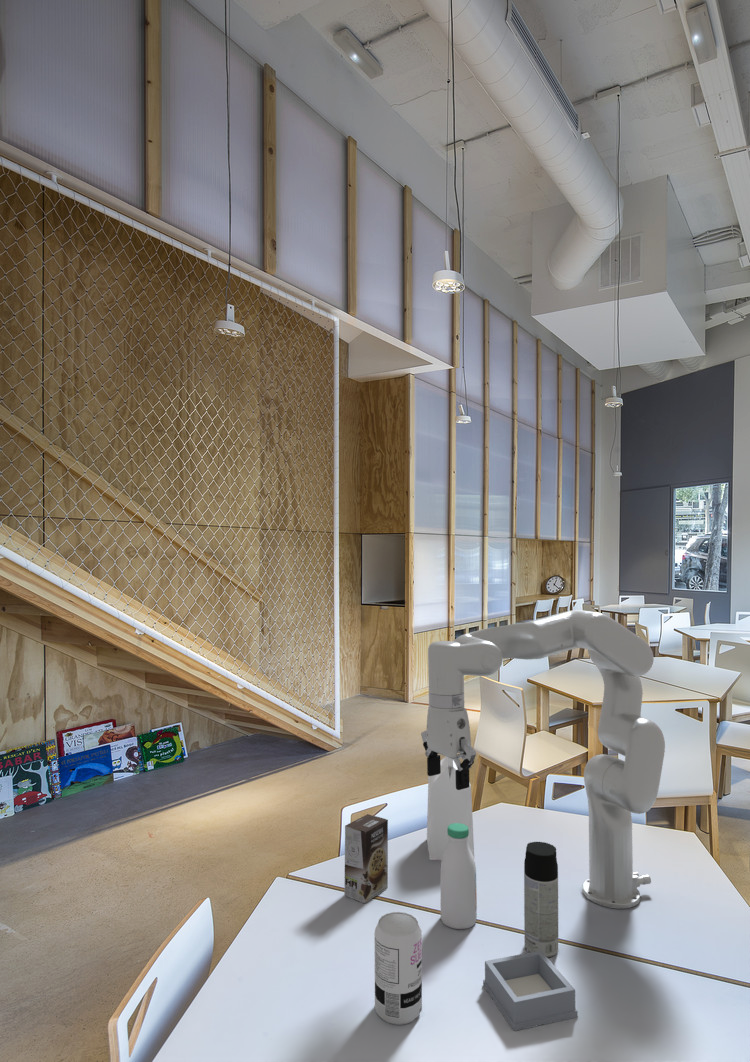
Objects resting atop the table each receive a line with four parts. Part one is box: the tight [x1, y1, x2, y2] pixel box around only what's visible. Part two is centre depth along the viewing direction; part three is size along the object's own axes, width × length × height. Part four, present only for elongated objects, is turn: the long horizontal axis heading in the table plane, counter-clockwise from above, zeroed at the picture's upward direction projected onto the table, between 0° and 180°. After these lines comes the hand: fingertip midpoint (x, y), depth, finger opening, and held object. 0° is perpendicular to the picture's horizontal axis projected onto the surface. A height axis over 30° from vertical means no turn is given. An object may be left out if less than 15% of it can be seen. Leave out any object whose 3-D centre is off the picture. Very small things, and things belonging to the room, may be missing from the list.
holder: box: [482, 951, 579, 1032], centre depth 118 cm, size 12×12×4 cm
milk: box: [426, 756, 475, 861], centre depth 177 cm, size 12×12×26 cm
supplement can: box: [374, 911, 423, 1026], centre depth 115 cm, size 8×8×15 cm
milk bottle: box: [440, 823, 478, 930], centre depth 143 cm, size 8×8×20 cm
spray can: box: [523, 841, 559, 958], centre depth 133 cm, size 7×7×20 cm
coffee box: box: [343, 813, 389, 904], centre depth 155 cm, size 9×6×16 cm
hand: (447, 781), depth 141 cm, fingers open, 9 cm apart
